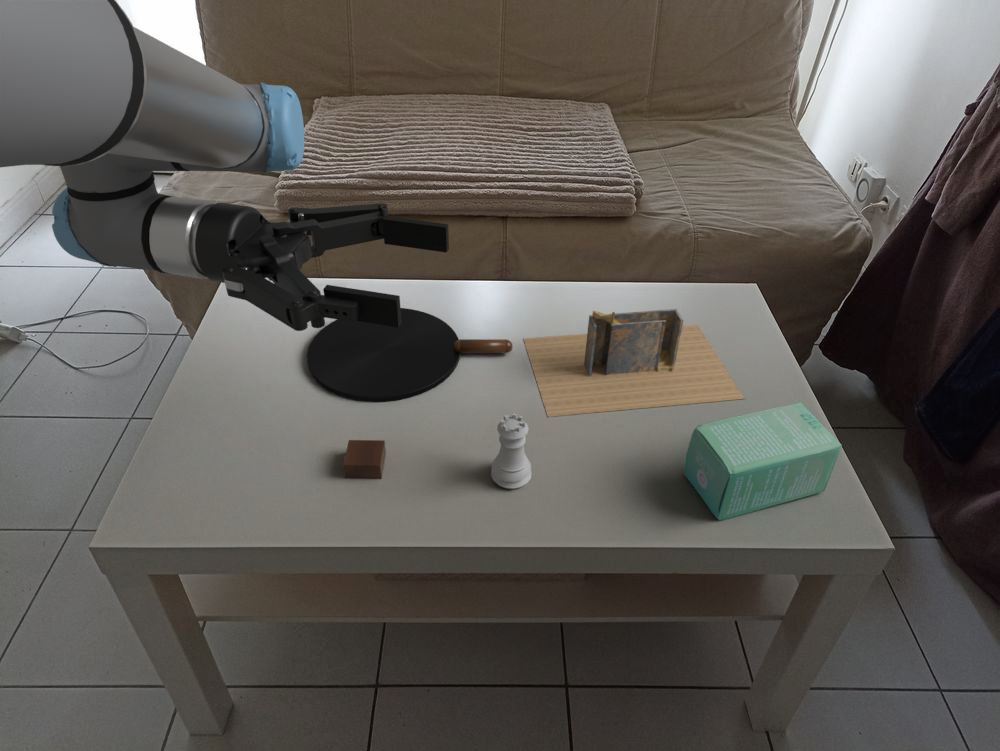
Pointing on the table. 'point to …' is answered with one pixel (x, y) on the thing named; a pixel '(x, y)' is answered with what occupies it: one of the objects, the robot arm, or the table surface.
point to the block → (364, 459)
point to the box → (760, 459)
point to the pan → (390, 356)
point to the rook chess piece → (511, 454)
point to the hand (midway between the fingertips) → (425, 272)
